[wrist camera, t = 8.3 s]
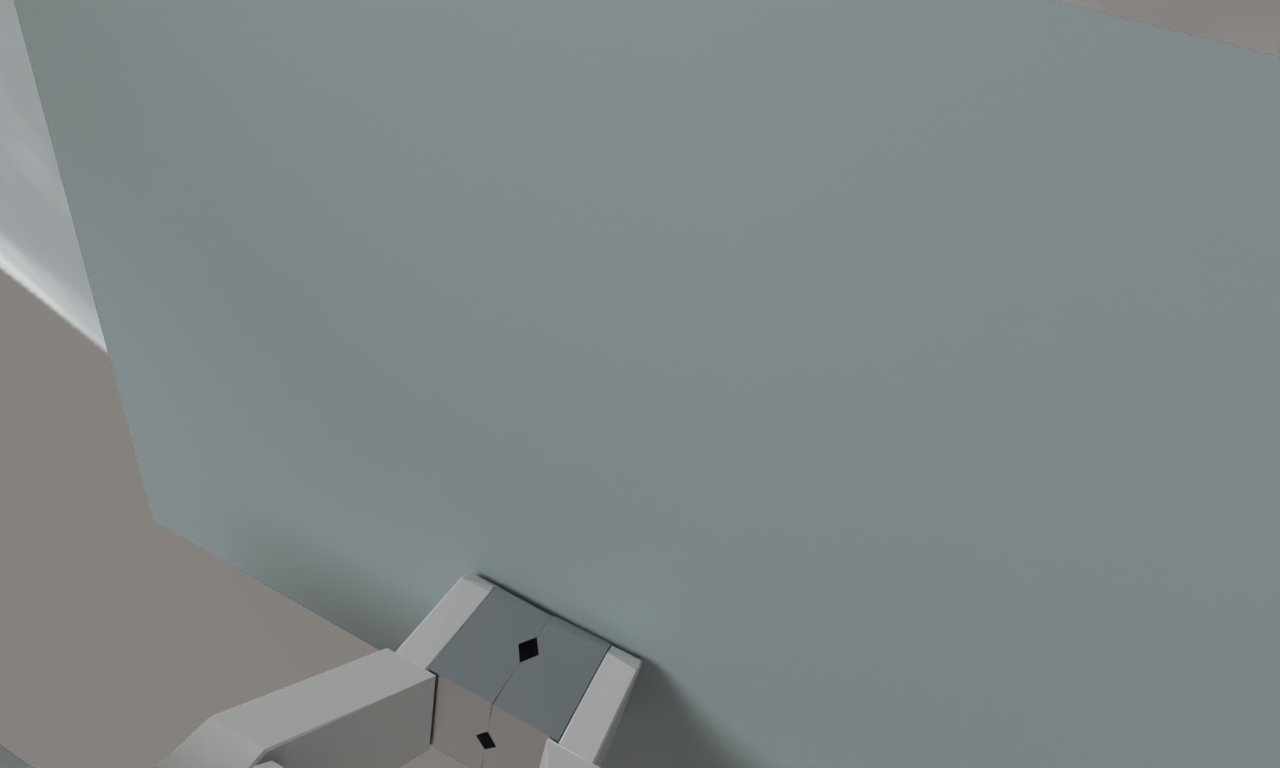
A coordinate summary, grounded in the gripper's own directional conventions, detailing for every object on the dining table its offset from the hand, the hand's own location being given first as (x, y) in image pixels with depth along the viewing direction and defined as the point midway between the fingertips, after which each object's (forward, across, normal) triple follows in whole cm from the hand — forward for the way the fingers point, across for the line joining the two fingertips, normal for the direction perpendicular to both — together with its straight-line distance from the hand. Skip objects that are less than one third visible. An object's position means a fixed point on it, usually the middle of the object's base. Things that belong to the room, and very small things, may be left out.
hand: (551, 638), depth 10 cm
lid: (+1, -2, -3) cm, 4 cm away
